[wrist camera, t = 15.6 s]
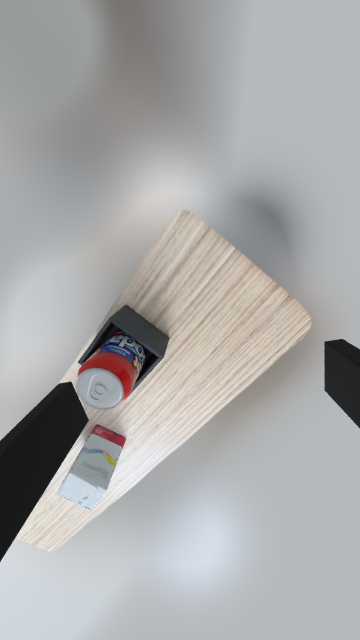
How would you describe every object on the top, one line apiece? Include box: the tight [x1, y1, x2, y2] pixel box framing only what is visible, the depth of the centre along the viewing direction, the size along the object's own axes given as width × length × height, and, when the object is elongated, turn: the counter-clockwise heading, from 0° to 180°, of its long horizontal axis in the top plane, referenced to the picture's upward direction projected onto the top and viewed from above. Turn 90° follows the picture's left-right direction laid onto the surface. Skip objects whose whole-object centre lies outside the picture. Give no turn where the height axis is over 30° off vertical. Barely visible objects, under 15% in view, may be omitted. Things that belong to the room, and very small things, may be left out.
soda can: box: [76, 328, 149, 409], centre depth 34 cm, size 8×8×15 cm
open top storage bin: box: [78, 305, 169, 394], centre depth 38 cm, size 11×11×8 cm
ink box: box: [57, 425, 126, 510], centre depth 46 cm, size 9×9×12 cm
